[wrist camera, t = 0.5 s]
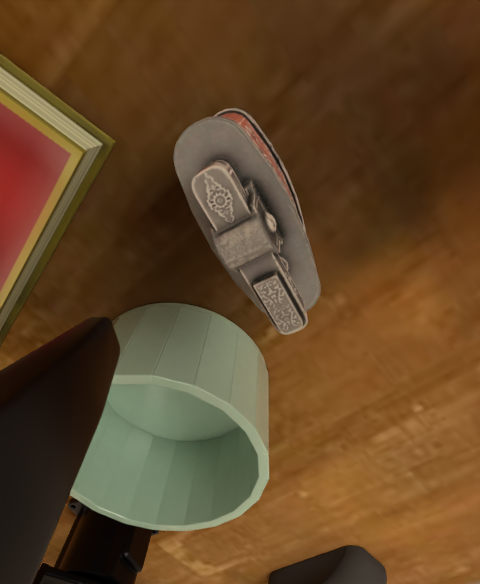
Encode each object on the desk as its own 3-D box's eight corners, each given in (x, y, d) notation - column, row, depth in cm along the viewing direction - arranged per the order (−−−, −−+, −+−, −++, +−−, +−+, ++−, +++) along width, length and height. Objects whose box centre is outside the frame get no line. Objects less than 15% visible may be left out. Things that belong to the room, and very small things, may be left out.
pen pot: (144, 453, 31) (113, 543, 25) (56, 333, 26) (-10, 409, 20) (292, 421, 28) (298, 513, 22) (228, 277, 23) (213, 346, 17)
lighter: (191, 129, 19) (124, 163, 10) (249, 92, 18) (231, 95, 9) (264, 259, 22) (261, 371, 13) (317, 233, 21) (352, 336, 12)
